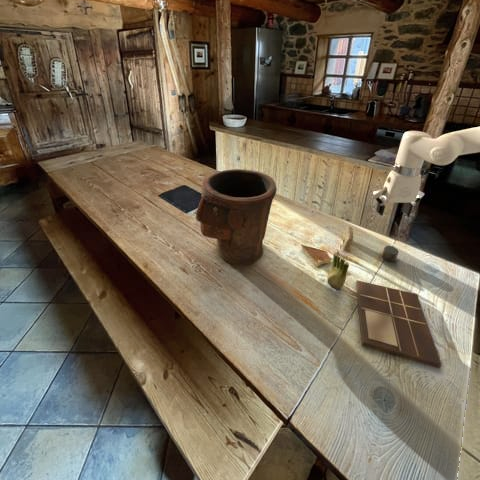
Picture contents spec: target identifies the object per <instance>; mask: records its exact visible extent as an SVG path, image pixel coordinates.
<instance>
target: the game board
mask: <svg viewBox="0 0 480 480" xmlns="http://www.w3.org/2000/svg"><path fill="white" fill-rule="evenodd" d="M355 289H356V299H357V309H358V321H359V330H360V339H361V346H362V347H365V348H368V349H372V350H376V351H379V352H383V353H386V354H390V355H392V356H396V357H400V358H403V359H407V360H409V361H413V362H417V363H421V364H424V365H427V366H430V367H435V368H438V369H440V368H441V367H442V362H441V360H440V359H441V358H440V356H439V353H438V351H437V347H436V345H435V342H434V339H433V336H432V333H431V330H430V327H429V325H428V321H427V318H426V316H425V313H424V311H423V307H422V304H421V302H420V299H419V295H418V294H417V293H414V292H410V291H405V290H401V289H396V288H392V287H389V286H383V285H381V284H380V285H379V284H375V283H371V282H367V281H361V280H355Z"/></svg>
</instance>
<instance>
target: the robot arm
mask: <svg viewBox="0 0 480 480" xmlns="http://www.w3.org/2000/svg"><path fill="white" fill-rule="evenodd" d="M477 153H480V126H477V127H471V128H466V129H461V130H456V131H452V132H451V131H450V132H448V133H444V134H441V135H440V136H438V137H436V138H432V136H431V135H430V134H429V133H427V132H424V131H419V130H408V131H405V132H404V133H403V135H402V137H401V139H400V143H399V148H398V151H397V154H396V158H395V161H394V164H393V165H390V168H389V169H390V172H389V174H388V175H387V177H386V179H385V181H384V184H383V188H380V189H377V190H375V191H373V193H372V194H373V197H374V198H373V199H374V200H375V201H376V202H377V205H376V209H375V210H376V213H377V214H378V215H379V216H380V217H381V216H383V215H384V212H385V209H386V204H387V203H391V204H392V203H393V204H399V203H400V204H401V203H402V204H403V203H404V205H403V208H402V212H403V213H404V214H405V215H406V216H411V212H412V210H413V207H415V206H416V205H417V203H418V202H419V201H421V199H422V198H423V197H424V196H425V192H423V191H422V190H420V188H421V184H422V174H420V173H421V171H422V167H423V164H424V161H425V162H428V163H430V164H433V165H436V166H447V165H449V164H451V163H453V162H454V161H455V160H456V159H457V158H458V157H459V156H463V155H469V154H477Z"/></svg>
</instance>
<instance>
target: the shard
mask: <svg viewBox="0 0 480 480" xmlns="http://www.w3.org/2000/svg"><path fill="white" fill-rule="evenodd" d="M300 246H301V249H302V250H303V251H304V252H305V253H306V254H307V255H308V256H309V258H311V260H312V261H313V262H314V263H315V265H316V266H317V267H319V266H322V265H323V264H330V262H331V261H333V257H331V256H330V255H329V253H328V251H325V250H323V249H319V248H316V247H312V246H307V245H304V244H300Z"/></svg>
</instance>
